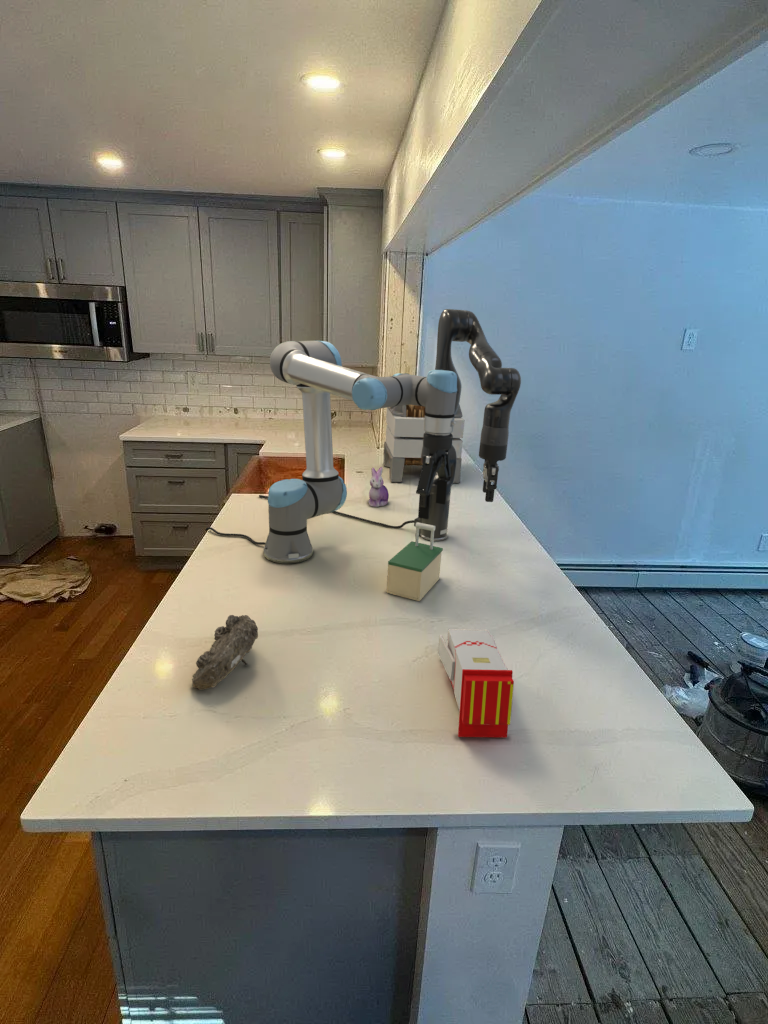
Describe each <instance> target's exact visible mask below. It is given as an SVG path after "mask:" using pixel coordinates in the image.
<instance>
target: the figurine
mask: <svg viewBox="0 0 768 1024" xmlns="http://www.w3.org/2000/svg"><path fill="white" fill-rule="evenodd" d="M383 470H384V469H383V466H380V467H379V468H378V469H377V470H376V468H375V467H372V468H371V478H370V480H369V485H370V489H369V492H368V498H369V499H368V500H367V501H368V505H369V506H370V507H383V506H387V505H388V503H389V499H390V498H389V497H390V494H389V491H388V488H387V486H385V484H384V483H385V482H384V478H383V475H382V474H383Z"/></svg>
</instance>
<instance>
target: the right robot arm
mask: <svg viewBox="0 0 768 1024" xmlns="http://www.w3.org/2000/svg"><path fill="white" fill-rule="evenodd" d="M436 335H437V338H436V356H435V367H434V370H446V371H453V372H455V373H456V375H457V394H456V402H455V411H454V413H456V411H457V409H458V406H459V405H460V403H461V402H460V401H461V396H462V395H461V393H462V388H463V387H462V382H461V379H460V376H459V373H458V371H457V368H456V367H455V364H454V362H453V357H452V343H453V342H460V343H464V342H465V343H466V342H467V343H468V344H469V345H470V347H469V349H468V359H469V362H470V363H471V365H472V367H473V368H474V370H475V371H476V372H477V375H478V378H479V382H480V383H479V384H480V388H481V390H482V391H483V392H484V393H486V394H487V395H490V396H491V395H492V396H493V395H495V396H496V395H500V396H499V398H498V399H497V400H496V401H493V402H489V403H486V405H485V406H484V412H483V420H482V428H481V431H480V438H479V440H480V441H479V449H478V457H479V458H480V459H482V460H484V462H483V463H482V464H483V467H482V479H483V482H482V483H483V484H482V493H485V495H484V496H485V497H484V500H485V502H486V503H493V502H494V500H495V499H494V497H495V491H496V490H497V488H498V486H497V485H498V478H499V470H500V466H499V464H498V462H501V461H505V460H506V459H507V451H508V444H509V443H508V442H509V433H510V432H509V429H510V419H511V412H512V409H513V407H514V404H515V401H516V399H517V396H518V394H519V391H520V389H521V385H522V377H521V374H520V372H519V371H518V369H517V368H514V367H503V362H502V359H501V357H500V356H499V355H498V354H497V352H496V351H495V350H494V348H493V347H492V346H491V344H490V343H489V341H488V339H487V337H486V334H485V332H484V330H483V328H482V326H481V324H480V321H479V319H478V317H477V316H476V314H475V313H474V312H473V311H470V310H467V309H455V308H446V309H443V310H442V312H441V313H440V316H439V319H438V324H437V334H436ZM454 415H455V414H454ZM428 453H429V450H428V449H427V448H425V447H424V446H423V447H422V452H421V462H422V464H423V456H424V455H428ZM449 459H450V470H451V476H450V477H451V481H447V482H448V483H447V495H446V504H445V505H444V504H439V503H436V493H437V481H438V480H440V479H439V477H438V473H435V477H434V480H433V483H432V486H431V490H430V493H429V494H430V495H431V496H430V510H429V519H423V518H418V517H416V518H414V519H411V520H407V521H404V522H403V523H402V524H400V525H389V524H386V523H384V522H383V523H382V522H378V521H374V520H370V519H367V518H362V517H359V516H356V515H352V514H348V513H344V512H340V511H338V510H335V511H333V512H332V513H333V514H336V515H339V516H342V517H347V518H351V519H355V520H358V521H362V522H366V523H368V524H373V525H377V526H382V527H385V528H390V529H401V528H403V527H404V526H405V525H408V524H413V526H414V527H415V525H416V523H417V522H418V523H423V524H428V525H433V526H435V531H434V540H433V542H440V541H444V540H446V539H447V538H448V530H449V529H448V525H449V517H450V516H449V514H450V504H451V494H452V493H451V491H452V486H453V484H454V483H453V482H454V477H455V470H456V462H457V455H456V450H455V448H454V446H453V445H452V447H451V449H449ZM258 498H263V499H267V500H268V495H262V494H259V495H258ZM419 537H420V538H421V539H424V540H426V541H430V540H431V531H430V530H425V529H420V528H419Z"/></svg>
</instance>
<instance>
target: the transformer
mask: <svg viewBox="0 0 768 1024" xmlns="http://www.w3.org/2000/svg"><path fill="white" fill-rule="evenodd" d="M385 414H386V415H385V423H386V428H385V438H384V442H383V466H384V467H388V468H389V475H388V476H389V477H388V478H389V480H390V482H391V483H402V482H403V475H404V469H405V466H406V467H407V466H411V467H412V466H413V467H415V466H416V467H417V466H418V467H422V462H421V452H422V447H423V435H424V433H425V432H426V431H424V418H425V407H422V406H417V405H401V406H394V407H387V408H386V413H385ZM454 421H455V422H456V424H455V425H453V432H452V433H451V434H452V435H453V439H452V445H453V446H454V448H455V450H456V455H457V462H456V470H455V477H454V482H453V484H455V483H456V484H459V483H461V472H462V461H463V460H462V453H463V442H464V441H463V440H462V439H463V438H464V431H465V430H464V429H465V419H464V418H463V411H462V408H461V405H460V404H459V406H458V409H457V411H456V413H455V415H454Z"/></svg>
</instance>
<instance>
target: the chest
mask: <svg viewBox="0 0 768 1024" xmlns="http://www.w3.org/2000/svg"><path fill="white" fill-rule="evenodd" d="M441 563H442V552H441V553H440V554H439V555H438V556H437V557H436V558H435V559H434V560H433V561H432V562H431V563H430V564H429V565H428V566H427V567H426V568H425V569H424V570H423V571H422V572H418V571H414V570H410V569H406V568H402V567H398V566H394V565H389V564H388V563H387V578H386V579H387V580H386V593H387V594H390V595H394V596H398V597H401V598H404V599H410V600H412V601H418V602H420V601H422V599H423V598H424V597H425V596H426V595H427V594H428V592H429V591H430V590H431V589H432V588H433V587H434V586H435V584H436V583H437V582H438V581H439V580H440V577H441V575H440V573H441V565H442V564H441Z"/></svg>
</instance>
